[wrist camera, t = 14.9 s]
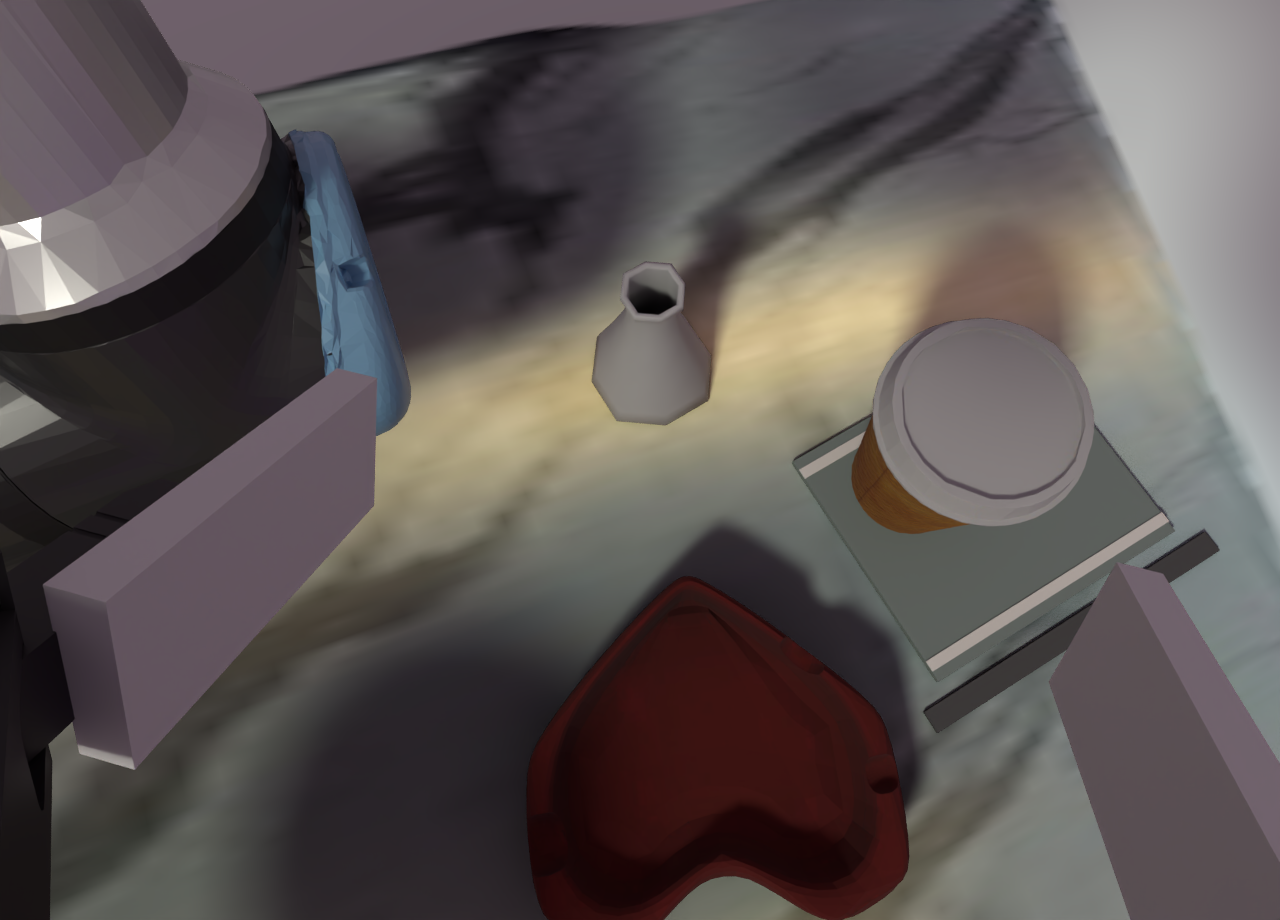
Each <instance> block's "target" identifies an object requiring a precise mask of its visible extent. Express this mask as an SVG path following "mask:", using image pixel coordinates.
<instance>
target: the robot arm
mask: <svg viewBox="0 0 1280 920" xmlns="http://www.w3.org/2000/svg"><path fill="white" fill-rule="evenodd" d="M410 400H411V386H410V381H409V377H408V373H407V369H406V365H405V361H404V358H403V354H402V351H401V347H400V344H399V341H398V337H397V334H396V331H395V327H394V324H393V320H392V317H391V314H390V311H389V307H388V304H387V301H386V297H385V294H384V291H383V288H382V284H381V281H380V278H379V275H378V272H377V268H376V265H375V262H374V259H373V256H372V253H371V250H370V247H369V244H368V240H367V237H366V234H365V231H364V228H363V224H362V221H361V218H360V215H359V212H358V209H357V206H356V203H355V199H354V196H353V193H352V190H351V187H350V184H349V181H348V179H347V176H346V173H345V170H344V167H343V164H342V162H341V159H340V156H339V154H338V153H337V150H336V146H335V143H334V141H333V140H332V138H331V137H330V136H329V135H327V134H326V133H324V132H320V131H310V132H303V131H296V130H293V131H291V132H289V133H288V135H286V136H285V137H283V138H282V139H280V138H279V136H278V134H277V132H276V130H275V129H274V127H273V125H272V123H271V122H270V120H269V118H268V116H267V114H266V112H265V110H264V109H263V107H262V106H261V104H260V103H259V102H258V100H257V99H256V97H255V96H254V95H253V94H252V92H251V91H250V90H249V89H248V87H246V86H245V85H243V84H242V83H240V82H239V81H238V80H236V79H235V78H232V77H230V76H228V75H226V74H223V73H221V72H218V71H215V70H211V69H208V68H205V67H201V66H198V65H195V64H191V63H188V62H184V61H181V60H178V59H177V58H176V57H175V55H174V53H173V52H172V50H171V49H170V47H169V45H168V44H167V42H166V40H165V39H164V37H163V36H162V34H161V32H160V31H159V29H158V28H157V26H156V24H155V23H154V21H153V19H152V18H151V16H150V15H149V13H148V11H147V10H146V8H145V6H144V5H143V3H142V2H141V0H0V920H50V878H51V811H52V758H51V754H50V750H49V746H48V744H49V743H50V742H51V741H52V740H53V739H54V738H55V737H56V736H58V735H59V734H60V733H61V732H62V731H63V730H64V729H65V728H66V727H67V726H68V725H69V724H70V723H71V722H73V726H74V731H75V735H76V740H77V745H78V749H79V754H83V755H86V756H90V757H93V758H96V759H100V760H103V761H107V762H110V763H113V764H117V765H120V766H124V767H127V768H130V769H134V770H135V769H136V768H137V767H138V766H139V764H140V763H141V762H142V761H143V760H144V759H145V758H146V757H147V756H148V754H149V753H150V752H151V751H152V750H153V749H154V748H155V747H156V746H157V745H158V743H159V742H160V741H161V740H162V739H163V738H164V737H165V736H166V735H167V733H168V732H169V731H170V730H171V729H172V728H173V727H174V726H175V725H176V724H177V722H178V721H179V720H180V719H181V718H182V717H183V716H184V715H185V714H186V713H187V711H188V710H189V709H190V708H191V707H192V706H193V705H194V704H195V703H196V701H197V700H198V699H199V698H200V697H201V696H202V695H203V694H204V693H205V692H206V690H207V689H208V688H209V687H210V686H211V685H212V684H213V683H214V682H215V680H216V679H217V678H218V677H219V676H220V675H221V674H222V673H223V672H224V671H225V669H226V668H227V667H228V666H229V665H230V664H231V663H232V662H233V661H234V659H235V658H236V657H237V656H238V655H239V654H240V653H241V652H242V651H243V650H244V648H245V647H246V646H247V645H248V644H249V643H250V642H251V641H252V640H253V639H254V637H255V636H256V635H257V634H258V633H259V632H260V631H261V630H262V629H263V627H264V626H265V625H266V624H267V623H268V622H269V621H270V620H271V619H272V618H273V616H274V615H275V614H276V613H277V612H278V611H279V610H280V609H281V608H282V606H283V605H284V604H285V603H286V602H287V601H288V600H289V599H290V598H291V597H292V595H293V594H294V593H295V592H296V591H297V590H298V589H299V588H300V587H301V585H302V584H303V583H304V582H305V581H306V580H307V579H308V578H309V577H310V576H311V574H312V573H313V572H314V571H315V570H316V569H317V568H318V567H319V566H320V565H321V563H322V562H323V561H324V560H325V559H326V558H327V557H328V556H329V555H330V553H331V552H332V551H333V550H334V549H335V548H336V547H337V546H338V545H339V544H340V542H341V541H342V540H343V539H344V538H345V537H346V536H347V535H348V534H349V532H350V531H351V530H352V529H353V528H354V527H355V526H356V525H357V524H358V523H359V521H360V520H361V519H362V518H363V517H364V516H365V515H366V514H367V513H368V511H369V510H370V509H371V508H372V507H373V506H374V484H375V445H376V436H378V435H380V434H382V433H385V432H387V431H389V430H391V429H392V428H393V427H395V426H396V425H397V424H398V422H399V421H400V420H401V419H402V418H403V417H404V415H405V414H406V412H407V410H408V407H409V404H410ZM1049 684H1050V687H1051V690H1052V692H1053V695H1054V698H1055V701H1056V704H1057V707H1058V710H1059V713H1060V716H1061V719H1062V721H1063V724H1064V727H1065V730H1066V733H1067V736H1068V739H1069V742H1070V745H1071V748H1072V751H1073V753H1074V756H1075V759H1076V762H1077V765H1078V768H1079V771H1080V774H1081V777H1082V780H1083V783H1084V785H1085V788H1086V791H1087V794H1088V797H1089V800H1090V803H1091V806H1092V809H1093V812H1094V814H1095V817H1096V820H1097V823H1098V826H1099V829H1100V832H1101V835H1102V838H1103V841H1104V844H1105V846H1106V849H1107V852H1108V855H1109V858H1110V861H1111V864H1112V867H1113V870H1114V873H1115V876H1116V878H1117V881H1118V884H1119V887H1120V890H1121V893H1122V896H1123V899H1124V902H1125V905H1126V908H1127V910H1128V913H1129V916H1130V919H1131V920H1280V763H1279V762H1278V760H1277V758H1276V757H1275V755H1274V753H1273V752H1272V750H1271V749H1270V747H1269V745H1268V744H1267V742H1266V740H1265V739H1264V737H1263V736H1262V734H1261V732H1260V731H1259V729H1258V727H1257V726H1256V724H1255V723H1254V721H1253V719H1252V718H1251V716H1250V714H1249V713H1248V711H1247V710H1246V708H1245V706H1244V705H1243V703H1242V701H1241V700H1240V698H1239V697H1238V695H1237V693H1236V692H1235V690H1234V688H1233V687H1232V685H1231V683H1230V682H1229V680H1228V679H1227V677H1226V675H1225V674H1224V672H1223V670H1222V669H1221V667H1220V666H1219V664H1218V662H1217V661H1216V659H1215V657H1214V656H1213V654H1212V653H1211V651H1210V649H1209V648H1208V646H1207V644H1206V643H1205V641H1204V640H1203V638H1202V636H1201V635H1200V633H1199V631H1198V630H1197V628H1196V627H1195V625H1194V623H1193V622H1192V620H1191V618H1190V617H1189V615H1188V614H1187V612H1186V610H1185V609H1184V607H1183V605H1182V604H1181V602H1180V600H1179V599H1178V597H1177V596H1176V594H1175V592H1174V591H1173V589H1172V587H1171V586H1170V584H1169V583H1168V581H1167V579H1166V578H1165V576H1164V574H1162V573H1158V572H1154V571H1150V570H1146V569H1142V568H1138V567H1134V566H1130V565H1126V564H1122V563H1118V562H1116V564H1115V566H1114V568H1113V570H1112V571H1111V573H1110V575H1109V577H1108V578H1107V580H1106V582H1105V584H1104V585H1103V587H1102V589H1101V591H1100V592H1099V594H1098V596H1097V598H1096V600H1095V601H1094V603H1093V605H1092V607H1091V608H1090V610H1089V612H1088V614H1087V615H1086V617H1085V619H1084V621H1083V622H1082V624H1081V626H1080V628H1079V630H1078V631H1077V633H1076V635H1075V637H1074V638H1073V640H1072V642H1071V644H1070V645H1069V647H1068V649H1067V651H1066V652H1065V654H1064V656H1063V658H1062V660H1061V661H1060V663H1059V665H1058V667H1057V668H1056V670H1055V672H1054V674H1053V675H1052V677H1051V679H1050V681H1049Z"/></svg>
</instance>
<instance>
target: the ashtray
mask: <svg viewBox="0 0 1280 920" xmlns="http://www.w3.org/2000/svg"><path fill="white" fill-rule="evenodd" d="M527 831H528V843H529V853H530V862H531V869H532V876H533V883H534V886H535V890H536V894H537V898H538V901H539V904H540V906H541V909H542V911H543V914H544V915H545V916H546V918H547V919H548V920H664V919H665V918H666V917H667V916H668V915H669V914H670V912H671V911H672V910H673V909H674V908H675V907H676V906H677V905H678V904H679V903H680V902H681V901H682V900H683V899H684V898H685V897H686V896H687V895H688V894H689V893H690V892H692V891H693V890H694V889H695V888H696V887H698V886H699V885H700V884H702V883H704V882H706V881H708V880H710V879H714V878H718V877H723V876H737V877H741V878H746V879H749V880H752V881H754V882H756V883H758V884H760V885H762V886H764V887H766V888H768V889H769V890H771V891H773V892H774V893H776V894H778V895H779V896H781V897H783V898H784V899H786V900H787V901H789V902H791V903H792V904H794V905H796V906H797V907H799V908H801V909H802V910H804V911H806V912H808V913H810V914H812V915H815V916H817V917H819V918H822V919H826V920H843V919H845V918H849V917H853V916H855V915H857V914H859V913H861V912H863V911H865V910H866V909H868V908H869V907H871V906H872V905H874V904H876V903H877V902H878V901H880V900H881V899H883V898H884V897H886V896H887V895H888V894H889V893H890V892H892V891H893V890H894V888H895V887H896V886H897V885H898V884H899V883H900V882H901V881H902V880H903V878H904V876H905V874H906V872H907V870H908V863H909V843H908V832H907V824H906V816H905V810H904V804H903V798H902V793H901V787H900V782H899V777H898V772H897V767H896V762H895V758H894V753H893V749H892V745H891V742H890V739H889V736H888V733H887V729H886V727H885V725H884V723H883V720H882V718H881V716H880V715H879V714H878V712H877V711H876V710H875V708H874V707H873V706H872V705H871V704H870V703H869V702H868V701H867V700H866V699H865V698H864V697H863V696H862V695H861V694H860V693H859V692H858V691H857V690H855V689H854V688H853V687H852V686H851V685H849V684H848V683H847V682H846V681H845V680H844V679H842V678H841V677H840V676H839V675H837V674H836V673H835V672H834V671H832V670H831V669H830V668H828V667H827V666H826V665H825V664H823V663H822V662H821V661H819V660H818V659H816V658H815V657H814V656H812V655H811V654H810V653H808V652H807V651H806V650H804V649H803V648H802V647H800V646H799V645H798V644H796V643H795V642H794V641H793V640H791V639H790V638H789V637H787V636H786V635H785V634H783V633H782V632H781V631H779V630H778V629H776V628H775V627H774V626H772V625H771V624H770V623H768V622H767V621H765V620H764V619H763V618H761V617H760V616H758V615H757V614H755V613H754V612H752V611H751V610H749V609H748V608H747V607H745V606H744V605H742V604H741V603H739V602H737V601H736V600H734V599H733V598H731V597H730V596H728V595H726V594H725V593H723V592H722V591H720V590H718V589H716V588H715V587H713V586H711V585H710V584H708V583H706V582H704V581H702V580H700V579H698V578H695V577H692V576H685V577H681V578H679V579H677V580H676V581H674V582H673V583H672V584H670V585H669V586H668V587H667V588H666V589H665V590H663V591H662V592H661V593H660V594H659V595H658V596H657V597H656V598H655V599H654V600H653V601H652V602H651V603H650V604H649V605H648V606H647V607H646V608H645V609H644V610H643V611H642V612H641V613H640V614H639V615H638V616H637V618H636V619H635V620H634V621H633V622H632V623H631V624H630V625H629V626H628V627H627V628H626V629H625V630H624V631H623V633H622V634H621V635H620V636H619V637H618V638H617V639H616V640H615V642H614V643H613V644H612V645H611V646H610V647H609V648H608V649H607V650H606V652H605V653H604V654H603V655H602V656H601V657H600V659H599V660H598V661H597V662H596V663H595V665H594V666H593V667H592V668H591V669H590V670H589V672H588V673H587V674H586V675H585V677H584V678H583V679H582V680H581V682H580V683H579V684H578V685H577V686H576V688H575V689H574V690H573V691H572V693H571V694H570V695H569V697H568V698H567V699H566V701H565V702H564V703H563V705H562V706H561V707H560V709H559V710H558V711H557V713H556V714H555V716H554V717H553V719H552V720H551V722H550V723H549V725H548V726H547V728H546V729H545V731H544V732H543V734H542V736H541V737H540V739H539V741H538V743H537V744H536V747H535V749H534V751H533V754H532V756H531V759H530V764H529V769H528V774H527Z"/></svg>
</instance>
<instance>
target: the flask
mask: <svg viewBox="0 0 1280 920" xmlns="http://www.w3.org/2000/svg"><path fill="white" fill-rule="evenodd" d="M684 295H685V283H684V281H683V280H682V278H681V277H680V275H679V274H678V273H677V271H676V270H675V268H674V267H673V265H672V264H670V263H657V262H644V263H642V264H640V265H638V266H636V267H634V268H633V269H631V270H629V271H627V272H625V273H624V274H623V278H622V287H621V296H620V300H621V302H622V303H623V305H624V306H625V309H624V310H623V311H622V313H621V314H620V315H619V316H618V317H617V318H616V319H615V320H614V321H613V322H612V323H611V324H610V325H609V326H608V327H607V328H606V329H605V330H604V331H602V332H601V333H600V334H599V335H598V337H597V341H596V350H595V358H594V366H593V375H592V383H593V384H594V386H595V388H596V389H597V391H598V392H599V394H600V395H601V397H602V399H603V400H604V402H605V403H606V405H607V406H608V408H609V410H610V411H611V413H612V414H613V416H614V417H615V419H616V421H623V422H634V423H646V424H657V425H667V424H669V423H671V422H673V421H674V420H676V419H678V418H679V417H681V416H683V415H685V414H686V413H688V412H690V411H691V410H693V409H695V408H697V407H698V406H700V405H702V404H703V403H705V402H707V401H708V392H709V379H710V367H711V354H710V353H709V352H708V350H707V349H706V347H705V346H704V344H703V343H702V341H701V340H700V338H699V337H698V336H697V334H696V333H695V331H694V330H693V328H692V327H691V325H690V324H689V322H688V321H687V320H686V318H685V317H684V316H683V315H682V314H681V312H682V311H683V306H684Z"/></svg>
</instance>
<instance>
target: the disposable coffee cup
mask: <svg viewBox="0 0 1280 920" xmlns="http://www.w3.org/2000/svg"><path fill="white" fill-rule="evenodd" d="M1093 434H1094V412H1093V408H1092V404H1091V400H1090V396H1089V392H1088V389H1087V387H1086V385H1085V383H1084V381H1083V380H1082V378H1081V376H1080V374H1079V372H1078V370H1077V369H1076V367H1075V365H1074V364H1073V363H1072V362H1071V361H1070V360H1069V359H1068V358H1067V357H1066V356H1065V355H1064V354H1063V353H1062V351H1061V350H1060V349H1059V348H1058V347H1057V346H1056V345H1055V344H1054V343H1052V342H1050V341H1049V340H1047V339H1046V338H1044V337H1042V336H1041V335H1039V334H1038V333H1036V332H1034V331H1033V330H1031V329H1029V328H1027V327H1024V326H1021V325H1018V324H1015V323H1012V322H1009V321H1005V320H998V319H990V318H979V319H967V320H961V321H951V322H947V323H943V324H940V325H936V326H933V327H931V328H928V329H926V330H924V331H922V332H920V333H918V334H917V335H915V336H914V337H912V338H911V339H909V340H908V341H907V342H905V343H904V344H903V345H902V346H901V347H900V348H899V349H898V350H897V351H896V352H895V353H894V354H893V356H892V357H891V358H890V360H889V361H888V362H887V364H886V366H885V368H884V370H883V372H882V374H881V376H880V378H879V380H878V383H877V387H876V391H875V395H874V399H873V415H872V417H871V420H870V422H869V424H868V427H867V429H866V432H865V433H864V436H863V439H862V441H861V444H860V446H859V448H858V451H857V453H856V455H855V457H854V461H853V464H852V475H851V480H852V487H853V490H854V493H855V496H856V499H857V500H858V502H859V504H860V505H861V507H862V509H863V510H864V511H865V512H866V513H867V515H868V516H869V517H870V518H872V519H873V520H874V521H875V522H877V523H878V524H880V525H881V526H883V527H885V528H887V529H889V530H892V531H895V532H898V533H907V534H921V533H925V532H930V531H936V530H941V529H946V528H952V527H957V526H963V525H968V524H974V525H981V526H1006V525H1012V524H1016V523H1021V522H1024V521H1028V520H1030V519H1033V518H1036V517H1038V516H1040V515H1041V514H1043V513H1045V512H1047V511H1049V510H1050V509H1052V508H1053V507H1054V506H1056V505H1057V504H1058V503H1059V502H1061V501H1062V500H1063V499H1064V498H1065V497H1066V496H1067V495H1068V493H1069V492H1070V491H1071V490H1072V488H1073V487H1074V486H1075V484H1076V483H1077V482H1078V480H1079V478H1080V476H1081V474H1082V472H1083V470H1084V468H1085V465H1086V461H1087V458H1088V454H1089V451H1090V448H1091V446H1092V440H1093Z"/></svg>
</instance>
